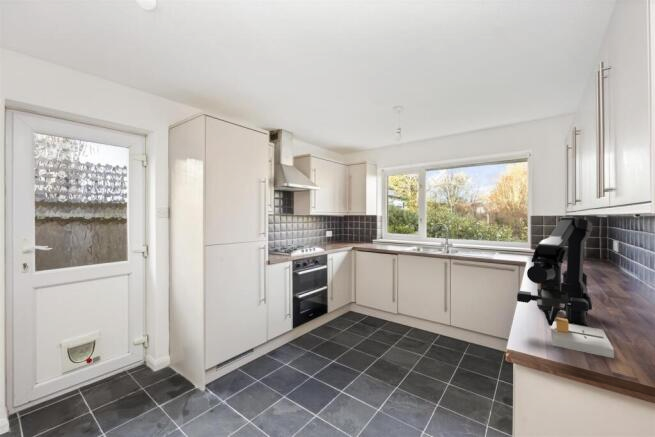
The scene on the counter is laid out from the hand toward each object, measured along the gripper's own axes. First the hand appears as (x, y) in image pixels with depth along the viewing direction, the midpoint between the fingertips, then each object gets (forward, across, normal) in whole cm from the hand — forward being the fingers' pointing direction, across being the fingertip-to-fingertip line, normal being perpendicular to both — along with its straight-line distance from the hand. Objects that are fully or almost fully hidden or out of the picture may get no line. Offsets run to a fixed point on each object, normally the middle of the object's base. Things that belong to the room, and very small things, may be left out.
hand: (550, 325), depth 97 cm
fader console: (+3, +7, 0) cm, 8 cm away
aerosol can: (+4, +9, +38) cm, 39 cm away
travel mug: (+4, 0, +35) cm, 35 cm away
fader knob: (+1, +3, 0) cm, 3 cm away
